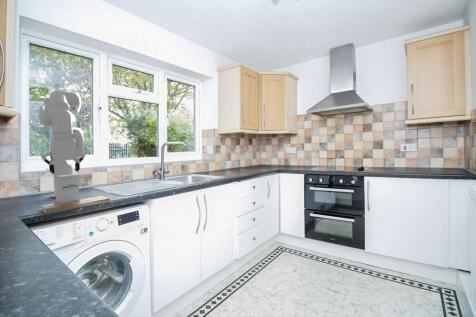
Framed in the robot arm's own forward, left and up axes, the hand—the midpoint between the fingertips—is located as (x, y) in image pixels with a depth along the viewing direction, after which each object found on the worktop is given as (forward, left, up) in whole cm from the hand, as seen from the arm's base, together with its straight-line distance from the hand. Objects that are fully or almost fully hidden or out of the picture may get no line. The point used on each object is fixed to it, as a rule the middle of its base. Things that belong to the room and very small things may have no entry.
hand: (65, 172), depth 112 cm
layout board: (+1, +4, -17) cm, 18 cm away
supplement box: (0, 0, -14) cm, 14 cm away
